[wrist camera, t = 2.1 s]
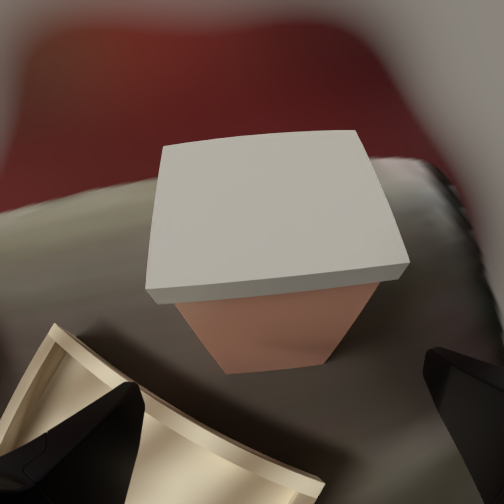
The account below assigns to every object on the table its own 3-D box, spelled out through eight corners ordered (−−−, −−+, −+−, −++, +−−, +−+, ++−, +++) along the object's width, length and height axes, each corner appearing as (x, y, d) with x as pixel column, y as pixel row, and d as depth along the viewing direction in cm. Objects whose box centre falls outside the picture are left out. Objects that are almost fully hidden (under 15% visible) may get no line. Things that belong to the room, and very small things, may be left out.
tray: (317, 476, 16) (325, 483, 13) (223, 609, 10) (216, 628, 8) (75, 336, 22) (54, 323, 19) (9, 456, 16) (-15, 453, 13)
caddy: (328, 367, 20) (410, 262, 8) (221, 379, 20) (145, 289, 8) (316, 291, 23) (355, 130, 11) (218, 301, 23) (163, 146, 11)
